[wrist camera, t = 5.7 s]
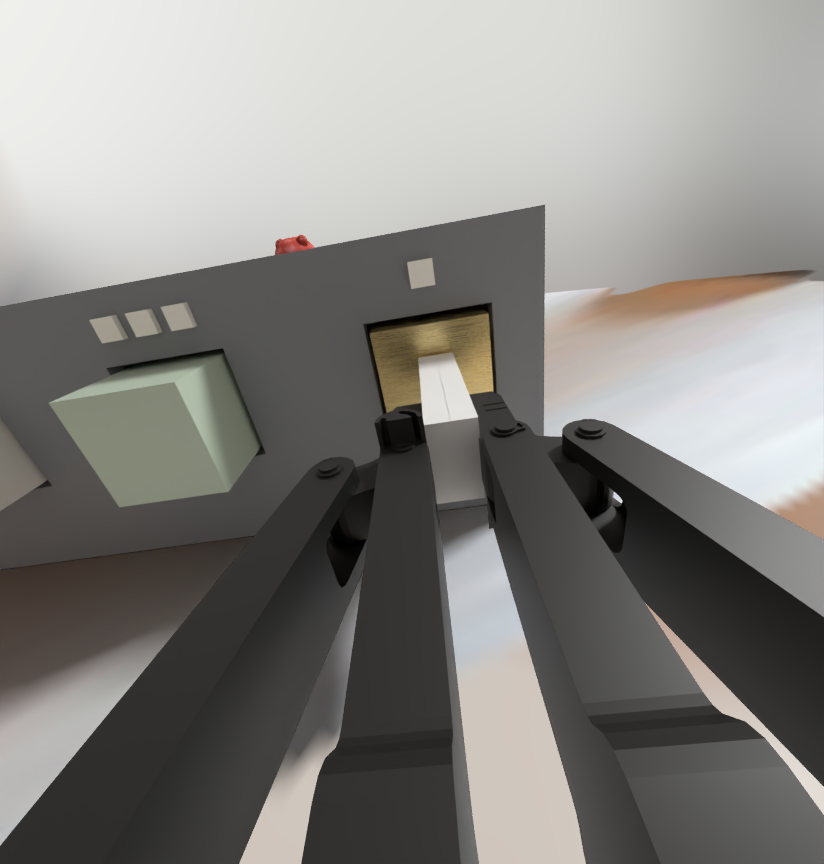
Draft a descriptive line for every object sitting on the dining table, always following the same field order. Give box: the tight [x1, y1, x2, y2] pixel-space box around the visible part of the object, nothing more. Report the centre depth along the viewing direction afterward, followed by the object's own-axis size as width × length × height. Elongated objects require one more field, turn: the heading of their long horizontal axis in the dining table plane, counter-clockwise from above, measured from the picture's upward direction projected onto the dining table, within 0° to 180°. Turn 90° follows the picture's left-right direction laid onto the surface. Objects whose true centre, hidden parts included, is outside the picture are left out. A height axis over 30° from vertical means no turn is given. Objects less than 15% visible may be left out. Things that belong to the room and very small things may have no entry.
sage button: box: [49, 348, 262, 507], centre depth 17 cm, size 6×5×5 cm
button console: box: [0, 205, 545, 570], centre depth 22 cm, size 10×34×14 cm, turn 91°
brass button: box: [370, 305, 493, 413], centre depth 19 cm, size 6×5×5 cm
